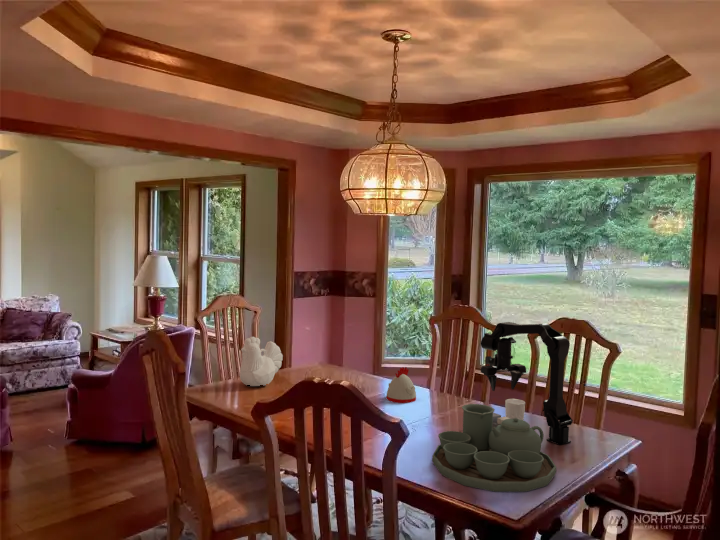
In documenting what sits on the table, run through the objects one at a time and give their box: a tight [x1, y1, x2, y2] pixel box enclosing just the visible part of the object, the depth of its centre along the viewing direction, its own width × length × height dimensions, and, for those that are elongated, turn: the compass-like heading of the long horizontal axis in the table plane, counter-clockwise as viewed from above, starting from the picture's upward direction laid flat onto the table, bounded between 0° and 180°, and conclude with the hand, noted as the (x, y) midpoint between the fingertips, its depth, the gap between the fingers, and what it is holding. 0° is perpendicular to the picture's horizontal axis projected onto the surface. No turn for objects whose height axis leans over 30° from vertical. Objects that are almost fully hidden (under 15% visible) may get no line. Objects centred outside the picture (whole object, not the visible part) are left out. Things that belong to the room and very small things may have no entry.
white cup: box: [504, 398, 526, 421], centre depth 244 cm, size 8×8×10 cm
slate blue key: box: [493, 412, 502, 422], centre depth 235 cm, size 4×4×3 cm
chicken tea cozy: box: [385, 366, 417, 404], centre depth 279 cm, size 14×14×15 cm
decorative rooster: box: [239, 336, 284, 387], centre depth 299 cm, size 25×16×25 cm, turn 126°
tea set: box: [431, 403, 557, 493], centre depth 199 cm, size 40×40×16 cm
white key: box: [497, 416, 510, 425], centre depth 230 cm, size 4×4×3 cm
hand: (502, 390), depth 247 cm, fingers open, 9 cm apart
